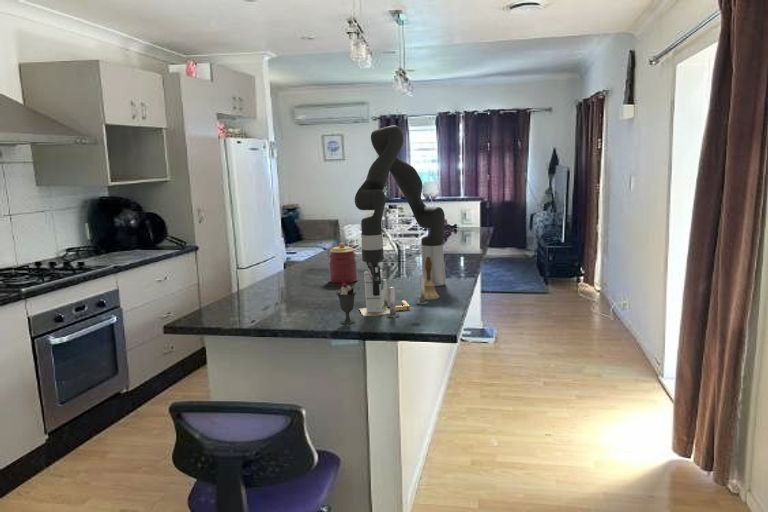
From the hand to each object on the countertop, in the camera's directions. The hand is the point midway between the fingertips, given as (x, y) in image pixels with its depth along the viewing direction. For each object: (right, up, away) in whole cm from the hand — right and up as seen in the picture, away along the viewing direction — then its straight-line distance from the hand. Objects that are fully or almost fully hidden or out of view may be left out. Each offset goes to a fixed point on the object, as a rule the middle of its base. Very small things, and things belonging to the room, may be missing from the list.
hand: (374, 293), depth 200 cm
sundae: (-9, -9, -11) cm, 17 cm away
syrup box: (0, -6, +1) cm, 7 cm away
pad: (0, -7, +1) cm, 7 cm away
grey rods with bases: (+12, -6, +3) cm, 14 cm away
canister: (-15, +2, +59) cm, 61 cm away
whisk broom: (+21, -3, +21) cm, 30 cm away
